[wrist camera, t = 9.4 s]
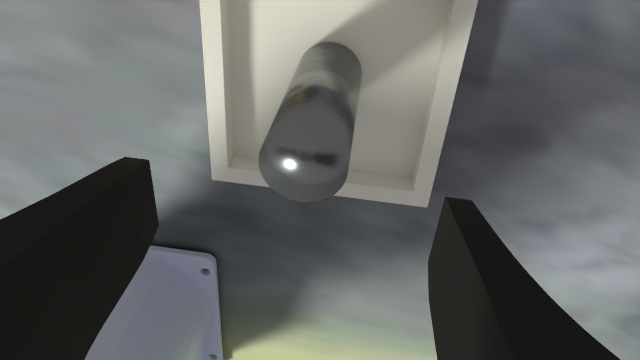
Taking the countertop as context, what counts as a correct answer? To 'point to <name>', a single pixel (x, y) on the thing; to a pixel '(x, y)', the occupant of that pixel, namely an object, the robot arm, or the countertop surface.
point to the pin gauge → (314, 126)
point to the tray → (375, 91)
